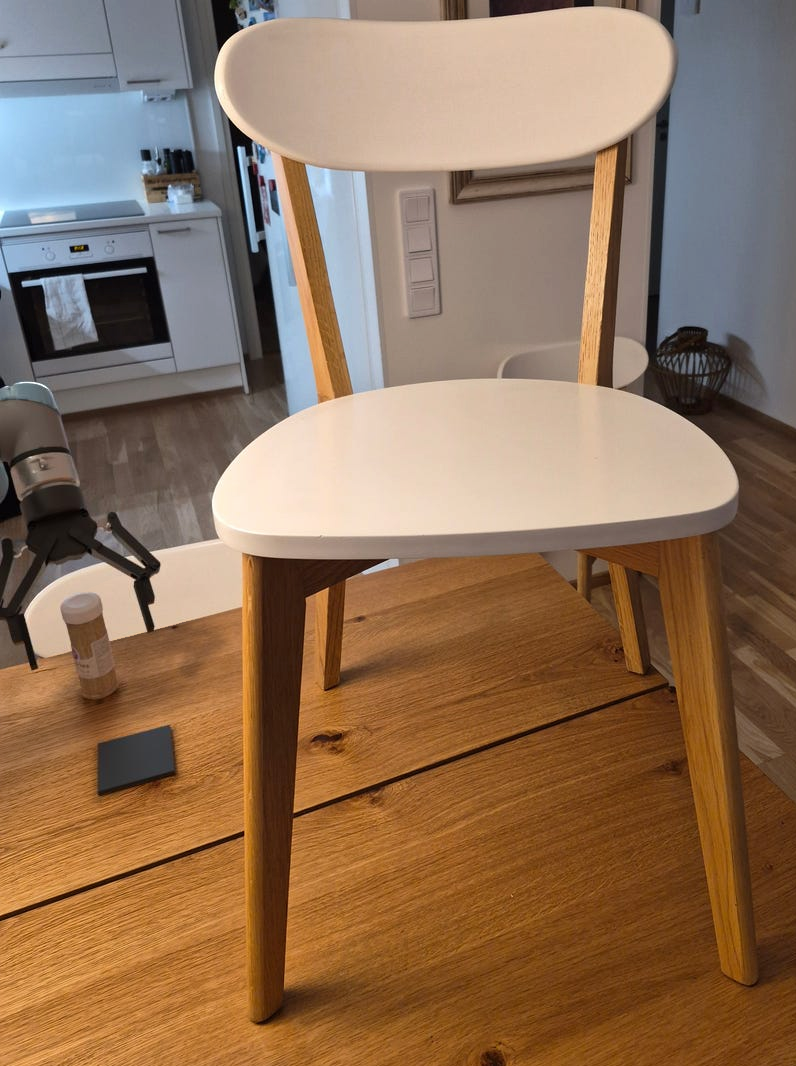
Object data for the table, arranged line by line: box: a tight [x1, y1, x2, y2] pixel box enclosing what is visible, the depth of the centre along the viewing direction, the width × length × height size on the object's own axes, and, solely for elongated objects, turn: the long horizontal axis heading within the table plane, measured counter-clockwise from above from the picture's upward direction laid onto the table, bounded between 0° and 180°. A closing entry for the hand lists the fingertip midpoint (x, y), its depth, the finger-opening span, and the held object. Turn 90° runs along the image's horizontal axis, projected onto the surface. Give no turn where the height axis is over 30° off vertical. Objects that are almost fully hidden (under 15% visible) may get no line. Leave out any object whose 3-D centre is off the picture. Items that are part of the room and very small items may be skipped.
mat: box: [97, 724, 176, 796], centre depth 97 cm, size 8×8×1 cm
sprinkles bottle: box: [59, 591, 120, 700], centre depth 106 cm, size 5×5×13 cm
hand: (94, 648), depth 105 cm, fingers open, 13 cm apart
